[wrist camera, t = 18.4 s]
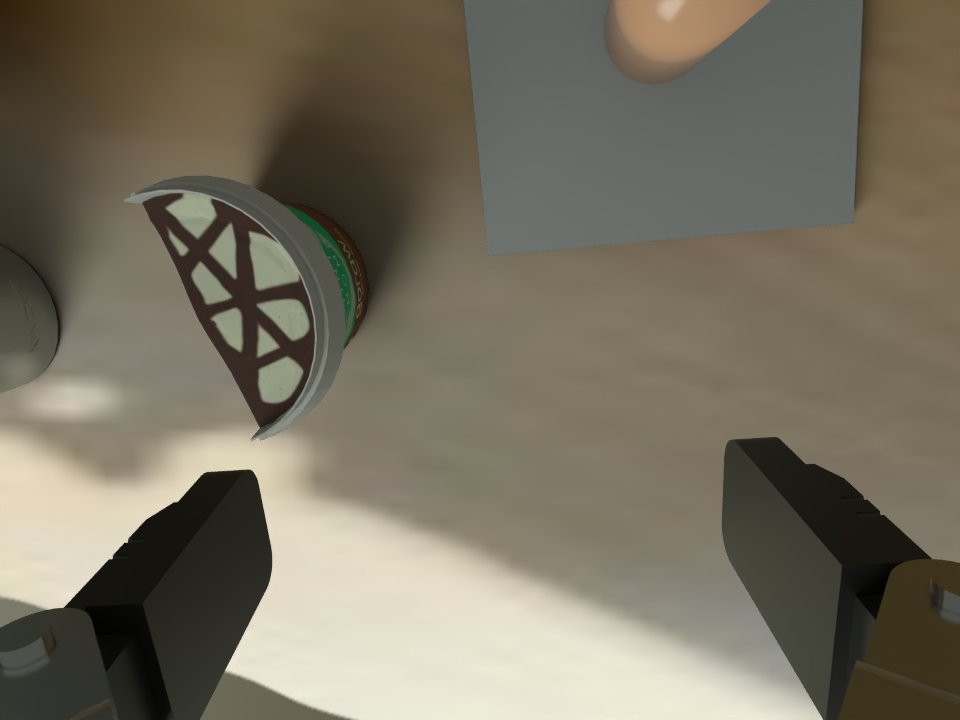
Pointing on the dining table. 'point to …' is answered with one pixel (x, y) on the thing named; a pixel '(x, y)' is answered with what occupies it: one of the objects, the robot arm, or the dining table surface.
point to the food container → (263, 288)
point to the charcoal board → (661, 127)
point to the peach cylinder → (670, 34)
